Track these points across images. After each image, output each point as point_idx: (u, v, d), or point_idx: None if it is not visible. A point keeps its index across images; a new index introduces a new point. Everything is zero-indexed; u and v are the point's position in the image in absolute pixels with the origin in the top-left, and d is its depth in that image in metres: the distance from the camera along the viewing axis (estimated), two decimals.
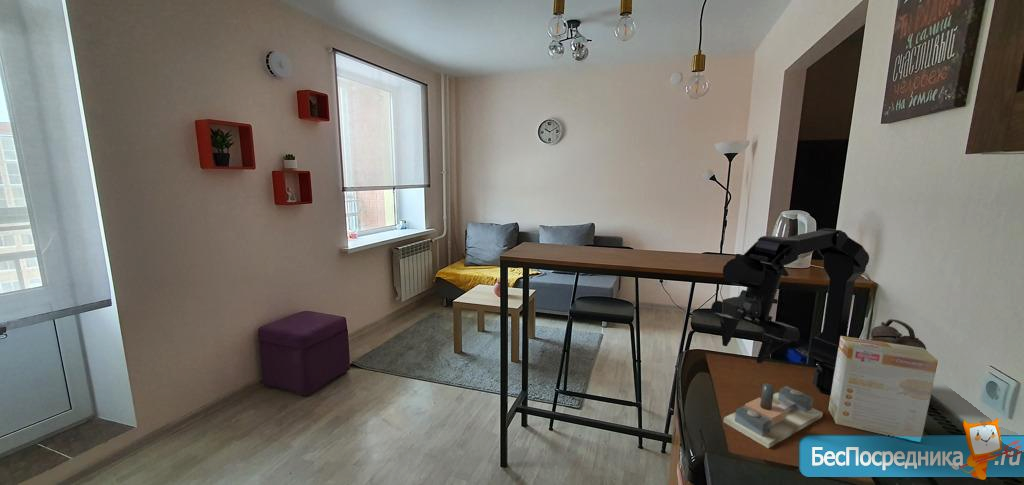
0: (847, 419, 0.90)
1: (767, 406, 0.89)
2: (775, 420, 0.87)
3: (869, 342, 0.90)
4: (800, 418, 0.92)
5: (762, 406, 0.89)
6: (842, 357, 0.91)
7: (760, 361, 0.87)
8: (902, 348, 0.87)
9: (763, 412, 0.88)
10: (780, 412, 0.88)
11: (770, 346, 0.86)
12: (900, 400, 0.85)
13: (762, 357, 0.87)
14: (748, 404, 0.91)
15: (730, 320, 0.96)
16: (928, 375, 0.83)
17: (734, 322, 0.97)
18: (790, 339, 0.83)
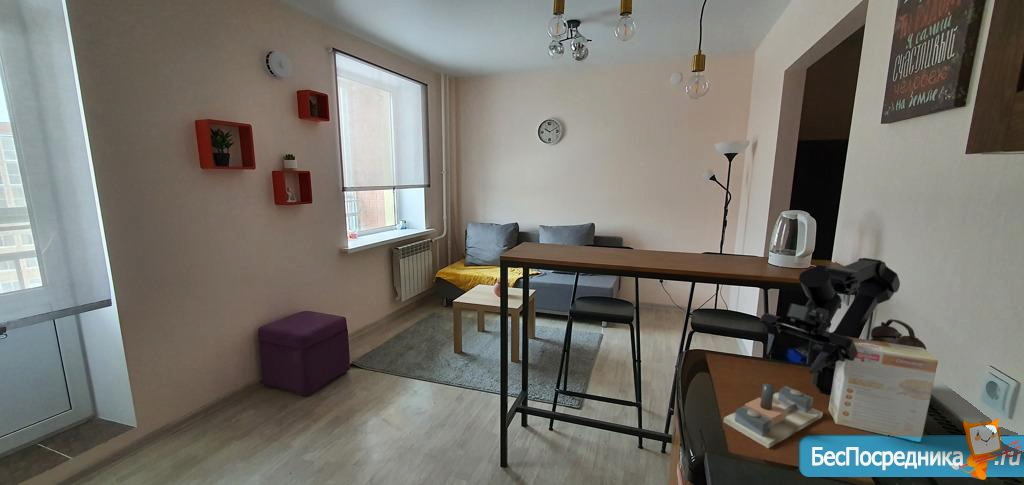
0: (847, 419, 0.90)
1: (767, 406, 0.89)
2: (775, 420, 0.87)
3: (869, 342, 0.90)
4: (800, 418, 0.92)
5: (762, 406, 0.89)
6: None
7: (813, 371, 0.88)
8: (902, 348, 0.87)
9: (763, 412, 0.88)
10: (780, 412, 0.88)
11: (826, 359, 0.88)
12: (900, 400, 0.85)
13: (816, 368, 0.88)
14: (748, 404, 0.91)
15: (778, 334, 0.98)
16: (928, 375, 0.83)
17: (779, 338, 0.98)
18: (851, 353, 0.85)
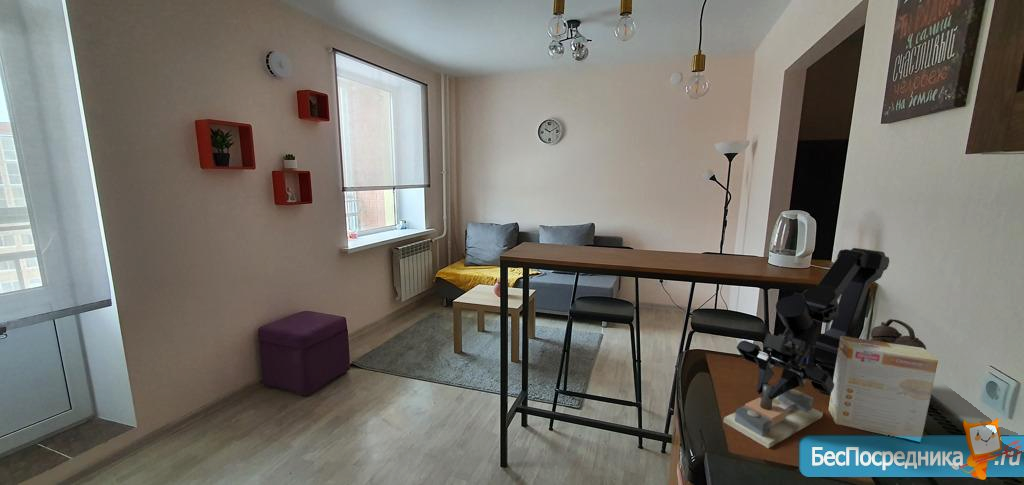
0: (847, 419, 0.90)
1: (767, 406, 0.89)
2: (775, 420, 0.87)
3: (869, 342, 0.90)
4: (800, 418, 0.92)
5: (762, 406, 0.89)
6: (842, 357, 0.91)
7: (772, 397, 0.87)
8: (902, 348, 0.87)
9: (763, 412, 0.88)
10: (780, 412, 0.88)
11: (785, 384, 0.88)
12: (900, 400, 0.85)
13: (775, 394, 0.87)
14: (748, 404, 0.91)
15: (769, 368, 0.92)
16: (928, 375, 0.83)
17: (771, 373, 0.92)
18: (828, 387, 0.82)
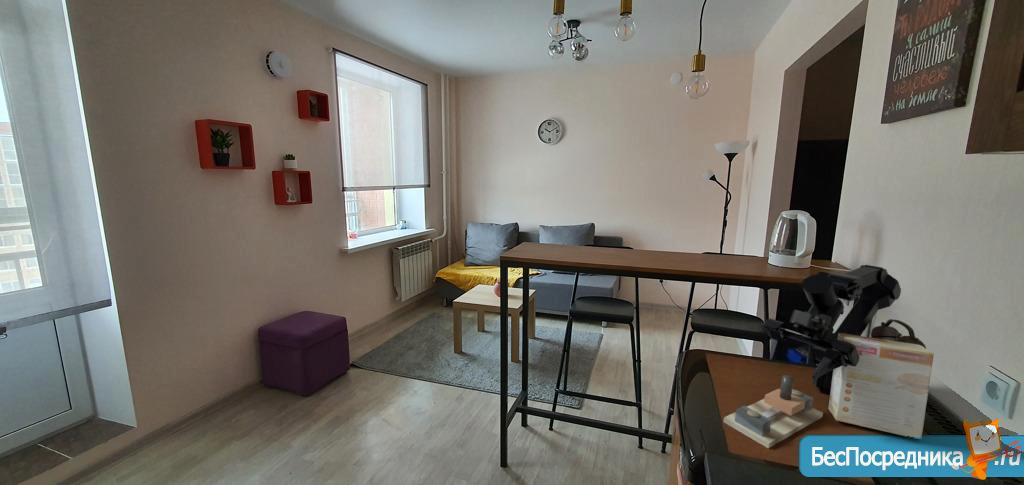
0: (847, 415, 0.90)
1: (787, 396, 0.93)
2: (794, 410, 0.91)
3: (866, 338, 0.92)
4: (800, 418, 0.92)
5: (782, 397, 0.93)
6: None
7: (816, 376, 0.89)
8: (898, 343, 0.89)
9: (783, 402, 0.92)
10: (799, 402, 0.92)
11: (828, 364, 0.89)
12: (899, 395, 0.86)
13: (819, 373, 0.89)
14: (768, 395, 0.95)
15: (781, 339, 0.99)
16: (925, 369, 0.84)
17: (782, 343, 0.99)
18: (854, 359, 0.87)
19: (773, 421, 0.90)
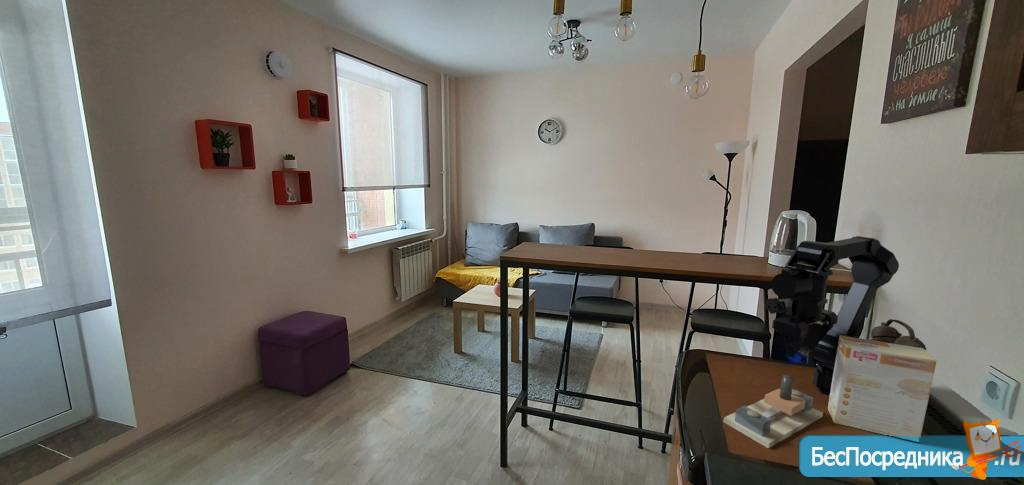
0: (845, 418, 0.90)
1: (787, 396, 0.93)
2: (794, 410, 0.91)
3: (868, 342, 0.90)
4: (800, 418, 0.92)
5: (782, 397, 0.93)
6: (840, 356, 0.91)
7: (789, 355, 0.96)
8: (901, 348, 0.87)
9: (783, 402, 0.92)
10: (799, 402, 0.92)
11: (791, 341, 0.95)
12: (898, 400, 0.86)
13: (789, 351, 0.96)
14: (768, 395, 0.95)
15: (814, 325, 1.00)
16: (926, 375, 0.83)
17: (820, 328, 0.99)
18: (784, 331, 0.93)
19: (773, 421, 0.90)
